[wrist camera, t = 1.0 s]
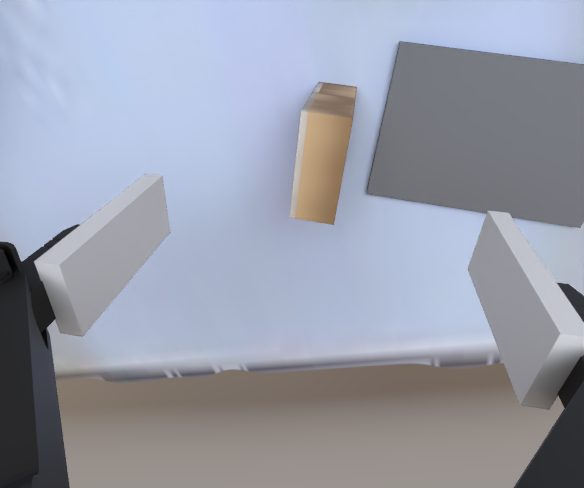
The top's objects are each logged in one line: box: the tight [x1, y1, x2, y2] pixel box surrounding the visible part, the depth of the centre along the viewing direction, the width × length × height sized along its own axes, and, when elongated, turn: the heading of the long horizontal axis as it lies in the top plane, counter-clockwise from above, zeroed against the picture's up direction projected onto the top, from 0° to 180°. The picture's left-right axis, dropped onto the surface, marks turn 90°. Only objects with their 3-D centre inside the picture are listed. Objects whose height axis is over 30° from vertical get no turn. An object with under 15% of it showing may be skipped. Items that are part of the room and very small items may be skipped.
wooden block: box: [290, 82, 357, 225], centre depth 29 cm, size 3×7×10 cm, turn 174°
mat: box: [367, 41, 584, 228], centre depth 31 cm, size 18×12×1 cm, turn 84°
